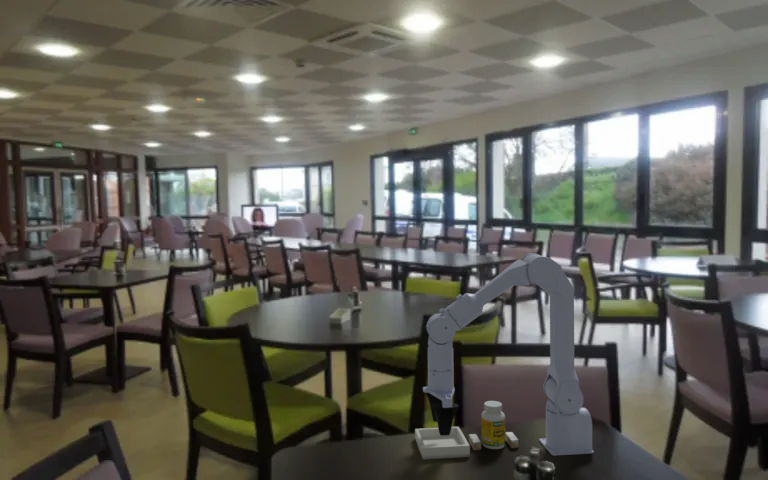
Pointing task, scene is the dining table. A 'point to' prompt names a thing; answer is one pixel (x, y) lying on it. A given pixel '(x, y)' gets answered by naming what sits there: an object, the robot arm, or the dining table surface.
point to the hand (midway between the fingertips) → (441, 427)
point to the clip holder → (509, 438)
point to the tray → (441, 443)
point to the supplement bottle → (493, 425)
